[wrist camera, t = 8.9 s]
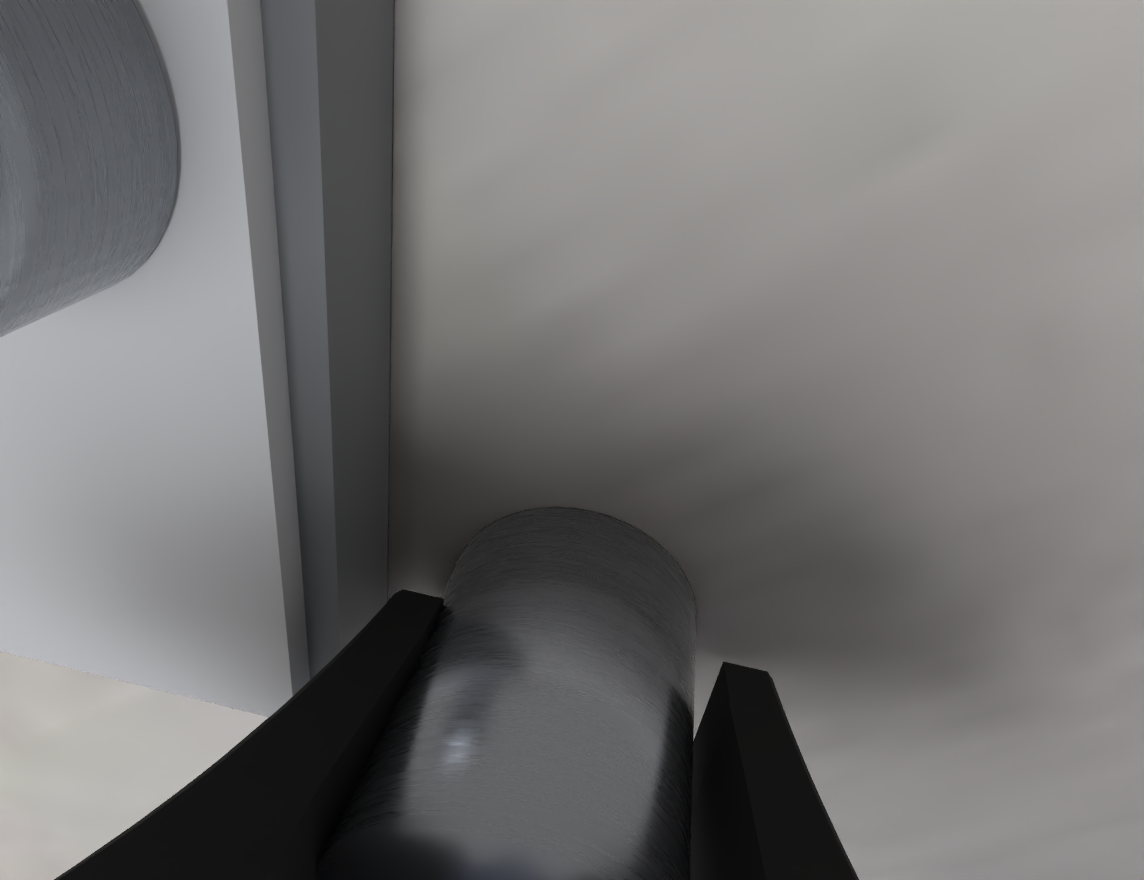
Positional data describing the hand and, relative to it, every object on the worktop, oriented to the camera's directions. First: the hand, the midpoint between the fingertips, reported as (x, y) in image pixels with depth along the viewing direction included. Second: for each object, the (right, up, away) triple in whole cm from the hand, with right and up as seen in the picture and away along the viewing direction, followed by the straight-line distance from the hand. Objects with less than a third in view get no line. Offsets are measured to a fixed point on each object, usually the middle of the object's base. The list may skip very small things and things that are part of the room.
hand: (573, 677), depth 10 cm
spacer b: (0, +1, +1) cm, 2 cm away
